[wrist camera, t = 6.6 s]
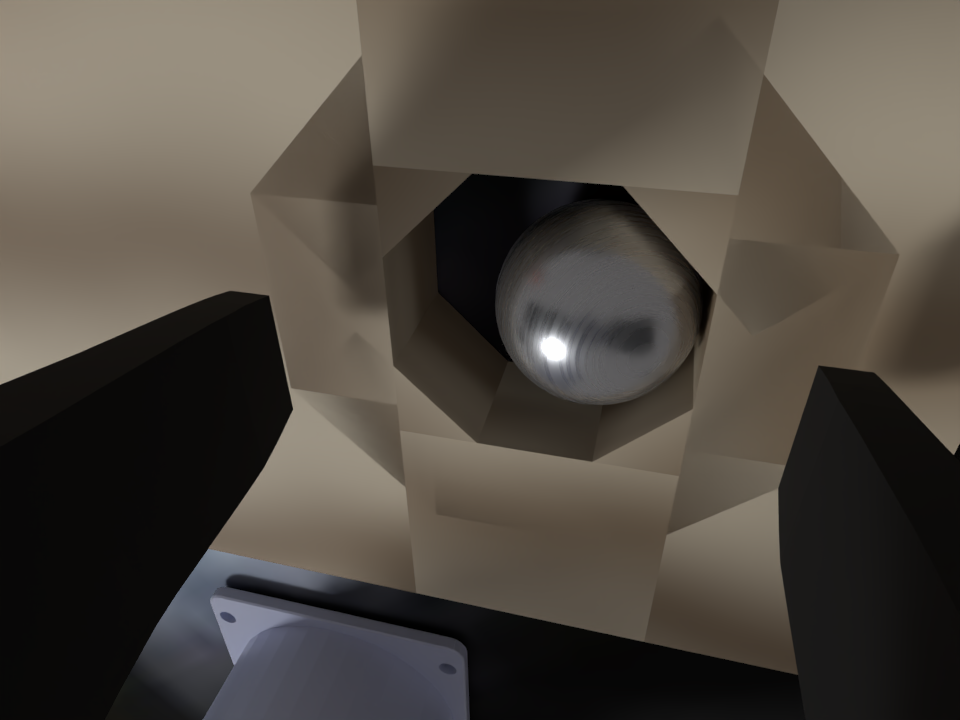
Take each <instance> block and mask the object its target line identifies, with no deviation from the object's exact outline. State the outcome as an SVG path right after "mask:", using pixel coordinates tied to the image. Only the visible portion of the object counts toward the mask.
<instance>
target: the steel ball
mask: <svg viewBox="0 0 960 720" xmlns="http://www.w3.org/2000/svg"><path fill="white" fill-rule="evenodd" d="M703 306H704V295H703V287H702V280H701V276H700V274H699V273H698V272H697V271H696V270H695V268H694V267H693V266H692V265H691V264H690V263H689V262H688V260H687V259H686V258H685V257H684V256H683V255H682V253H681V252H680V251H679V250H678V249H677V248H676V247H675V245H674V244H673V243H672V242H671V241H670V240H669V239H668V237H667V236H666V235H665V234H664V233H663V232H662V230H661V229H660V228H659V227H658V226H657V225H656V224H655V222H654V221H653V220H652V219H651V218H650V217H649V216H648V214H647V213H646V212H645V211H644V210H643V209H642V207H640V206H637V205H634V204H631V203H628V202H624V201H620V200H609V199H588V200H583V201H578V202H574V203H570V204H567V205H564V206H561V207H559V208H557V209H555V210H552V211H550V212H549V213H547V214H545V215H544V216H542V217H540V218H539V219H538V220H537V221H535V222H534V223H533V224H531V225H530V226H529V227H528V228H527V229H526V230H525V231H524V232H523V233H522V234H521V236H520V237H519V238H518V239H517V240H516V242H515V243H514V245H513V246H512V248H511V249H510V251H509V253H508V255H507V257H506V259H505V261H504V263H503V265H502V268H501V271H500V274H499V277H498V281H497V286H496V297H495V312H496V320H497V325H498V329H499V334H500V336H501V339H502V341H503V343H504V346H505V348H506V350H507V352H508V354H509V355H510V357H511V359H512V360H513V362H514V363H515V364H516V366H517V367H518V368H519V369H520V370H521V372H522V373H523V374H524V375H525V376H526V377H527V378H528V379H530V380H531V381H532V382H533V383H534V384H536V385H537V386H538V387H540V388H542V389H543V390H545V391H547V392H548V393H550V394H552V395H554V396H556V397H559V398H561V399H564V400H567V401H570V402H574V403H579V404H588V405H609V404H616V403H621V402H625V401H629V400H632V399H635V398H638V397H640V396H642V395H644V394H647V393H648V392H650V391H652V390H653V389H655V388H657V387H658V386H659V385H661V384H662V383H664V382H665V381H666V380H667V379H668V378H669V377H671V376H672V375H673V374H674V373H675V371H676V370H677V369H678V368H679V367H680V366H681V364H682V363H683V362H684V361H685V359H686V358H687V356H688V354H689V353H690V351H691V349H692V347H693V345H694V343H695V340H696V338H697V335H698V333H699V329H700V326H701V321H702V314H703Z"/></svg>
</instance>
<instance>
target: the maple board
mask: <svg viewBox="0 0 960 720" xmlns="http://www.w3.org/2000/svg"><path fill="white" fill-rule="evenodd" d="M471 174H484V175H496V176H508V177H520V178H533V179H545V180H557V181H569V182H581V183H594V184H606V185H618V186H623V187H624V188H625V189H626V190H627V191H628V192H629V194H630V195H631V196H632V197H633V198H634V199H635V201H636V202H637V203H638V204H639V205H640V206H641V207H642V209H643V210H644V211H645V212H646V213H647V214H648V216H649V217H650V218H651V219H652V220H653V221H654V222H655V224H656V225H657V226H658V227H659V228H660V229H661V230H662V232H663V233H664V234H665V235H666V236H667V237H668V239H669V240H670V241H671V242H672V243H673V244H674V245H675V247H676V248H677V249H678V250H679V251H680V252H681V253H682V255H683V256H684V257H685V258H686V259H687V260H688V262H689V263H690V264H691V265H692V266H693V267H694V268H695V270H696V271H697V272H698V273H699V274H700V275H701V277H702V278H703V281H702V287H703V295H704V306H703V314H702V321H701V326H700V329H699V333H698V335H697V338H696V340H695V343H694V345H693V347H692V349H691V351H690V353H689V354H688V356H687V358H686V359H685V361H684V362H683V363H682V364H681V366H680V367H679V368H678V369H677V370H676V371H675V373H674V374H673V375H672V376H671V377H669V378H668V379H667V380H666V381H665V382H664V383H662V384H661V385H659V386H658V387H657V388H655V389H653V390H652V391H650V392H648V393H647V394H644V395H642V396H640V397H638V398H635V399H632V400H629V401H625V402H621V403H616V404H609V405H588V404H579V403H574V402H570V401H567V400H564V399H561V398H559V397H556V396H554V395H552V394H550V393H548V392H547V391H545V390H543V389H542V388H540V387H538V386H537V385H536V384H534V383H533V382H532V381H531V380H530V379H528V378H527V377H526V376H525V375H524V374H523V373H522V372H521V370H520V369H519V368H518V367H517V366H516V364H515V363H514V362H509V361H507V360H506V359H505V358H504V357H503V356H502V355H501V354H500V353H499V352H498V351H497V350H496V349H495V348H494V347H493V346H492V345H491V344H490V343H489V342H488V341H487V340H486V339H485V338H484V337H483V336H482V335H481V334H480V333H479V332H478V331H477V330H476V329H475V328H474V327H473V326H472V325H471V324H470V323H469V322H468V321H467V320H466V319H465V318H464V317H463V316H462V315H461V314H459V313H458V312H457V311H456V310H455V309H454V308H453V307H452V306H451V305H450V304H449V303H448V302H447V301H446V300H445V299H444V298H443V297H442V296H441V295H440V294H439V293H438V285H437V266H436V247H435V228H434V209H435V208H436V207H437V206H438V205H439V204H440V203H441V202H442V201H443V200H444V199H445V198H446V197H447V196H448V195H450V194H451V193H452V192H453V191H454V190H455V189H456V188H457V187H458V186H459V185H460V184H461V183H462V182H463V181H464V180H466V179H467V178H468V177H469V176H470V175H471ZM227 291H238V292H246V293H253V294H261V295H269V297H270V302H271V307H272V312H273V316H274V321H275V326H276V330H277V335H278V340H279V345H280V349H281V354H282V359H283V364H284V368H285V373H286V378H287V382H288V387H289V392H290V397H291V401H292V406H293V411H292V413H291V415H290V417H289V419H288V421H287V424H286V426H285V428H284V430H283V432H282V434H281V436H280V438H279V440H278V442H277V444H276V446H275V448H274V450H273V452H272V454H271V456H270V458H269V459H268V461H267V463H266V465H265V467H264V469H263V470H262V472H261V473H260V475H259V476H258V478H257V479H256V481H255V482H254V484H253V485H252V487H251V488H250V489H249V491H248V492H247V494H246V495H245V497H244V498H243V500H242V501H241V503H240V504H239V505H238V507H237V508H236V510H235V511H234V513H233V514H232V516H231V517H230V518H229V520H228V521H227V523H226V524H225V526H224V527H223V528H222V530H221V531H220V533H219V534H218V536H217V537H216V538H215V540H214V541H213V543H212V544H211V545H210V547H209V548H208V549H212V550H217V551H222V552H226V553H231V554H236V555H240V556H245V557H250V558H254V559H259V560H264V561H268V562H273V563H278V564H282V565H287V566H292V567H297V568H301V569H306V570H311V571H315V572H320V573H325V574H329V575H334V576H339V577H343V578H348V579H353V580H357V581H362V582H367V583H371V584H376V585H381V586H385V587H390V588H395V589H399V590H404V591H409V592H413V593H418V594H423V595H427V596H432V597H437V598H442V599H446V600H451V601H456V602H460V603H465V604H470V605H474V606H479V607H484V608H488V609H493V610H498V611H502V612H507V613H512V614H516V615H521V616H526V617H530V618H535V619H540V620H544V621H549V622H554V623H558V624H563V625H568V626H572V627H577V628H582V629H586V630H591V631H596V632H601V633H605V634H610V635H615V636H619V637H624V638H629V639H633V640H638V641H643V642H647V643H652V644H657V645H661V646H666V647H671V648H675V649H680V650H685V651H689V652H694V653H699V654H703V655H708V656H713V657H717V658H722V659H727V660H731V661H736V662H741V663H746V664H750V665H755V666H760V667H764V668H769V669H774V670H778V671H783V672H788V673H792V674H797V675H798V672H797V665H796V659H795V653H794V647H793V641H792V635H791V629H790V623H789V617H788V610H787V604H786V598H785V592H784V585H783V579H782V572H781V565H780V549H779V514H778V487H779V484H780V481H781V478H782V475H783V472H784V469H785V466H786V463H787V460H788V457H789V454H790V451H791V448H792V445H793V441H794V438H795V435H796V432H797V429H798V426H799V423H800V420H801V417H802V414H803V411H804V408H805V405H806V402H807V399H808V396H809V393H810V390H811V387H812V384H813V380H814V377H815V374H816V371H817V368H818V365H820V366H828V367H836V368H844V369H851V370H859V371H867V372H874V373H875V374H877V375H878V376H879V377H880V378H881V379H882V380H883V381H884V382H885V383H886V384H887V385H888V386H889V387H890V388H891V389H892V390H893V391H894V392H895V394H896V395H897V396H898V397H899V398H900V399H901V400H902V401H903V402H904V403H905V404H906V405H907V406H908V407H909V408H910V409H911V410H912V412H913V413H914V414H915V415H916V416H917V417H918V418H919V419H920V420H921V421H922V422H923V423H924V424H925V425H926V426H927V428H928V429H929V430H930V431H931V432H932V433H933V434H934V435H935V436H936V437H937V438H938V439H939V440H940V441H941V442H942V443H943V444H944V446H945V447H946V448H947V449H948V450H949V451H950V452H951V453H952V454H953V455H954V454H955V452H956V450H957V448H958V446H959V444H960V0H0V385H1V384H3V383H6V382H8V381H11V380H13V379H16V378H18V377H20V376H23V375H25V374H28V373H30V372H33V371H35V370H38V369H40V368H43V367H45V366H48V365H50V364H53V363H55V362H58V361H60V360H63V359H65V358H68V357H70V356H72V355H75V354H77V353H80V352H82V351H84V350H87V349H89V348H91V347H94V346H96V345H98V344H100V343H103V342H105V341H107V340H110V339H112V338H114V337H116V336H119V335H121V334H123V333H126V332H128V331H130V330H132V329H135V328H137V327H139V326H142V325H144V324H146V323H149V322H151V321H153V320H155V319H158V318H160V317H162V316H165V315H167V314H169V313H172V312H174V311H176V310H179V309H181V308H184V307H186V306H188V305H191V304H193V303H196V302H199V301H201V300H204V299H206V298H209V297H212V296H215V295H218V294H221V293H224V292H227Z"/></svg>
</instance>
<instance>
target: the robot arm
mask: <svg viewBox="0 0 960 720" xmlns="http://www.w3.org/2000/svg"><path fill="white" fill-rule="evenodd" d="M292 411H293V406H292V401H291V397H290V392H289V387H288V382H287V378H286V373H285V368H284V364H283V359H282V354H281V349H280V345H279V340H278V335H277V330H276V326H275V321H274V316H273V312H272V307H271V302H270V297H269V295H261V294H253V293H246V292H238V291H227V292H224V293H221V294H218V295H215V296H212V297H209V298H206V299H204V300H201V301H199V302H196V303H193V304H191V305H188V306H186V307H184V308H181V309H179V310H176V311H174V312H172V313H169V314H167V315H165V316H162V317H160V318H158V319H155V320H153V321H151V322H149V323H146V324H144V325H142V326H139V327H137V328H135V329H132V330H130V331H128V332H126V333H123V334H121V335H119V336H116V337H114V338H112V339H110V340H107V341H105V342H103V343H100V344H98V345H96V346H94V347H91V348H89V349H87V350H84V351H82V352H80V353H77V354H75V355H72V356H70V357H68V358H65V359H63V360H60V361H58V362H55V363H53V364H50V365H48V366H45V367H43V368H40V369H38V370H35V371H33V372H30V373H28V374H25V375H23V376H20V377H18V378H16V379H13V380H11V381H8V382H6V383H3V384H1V385H0V720H105V718H106V716H107V714H108V712H109V710H110V708H111V706H112V705H113V703H114V701H115V699H116V697H117V695H118V693H119V691H120V689H121V688H122V686H123V684H124V682H125V680H126V679H127V677H128V675H129V673H130V671H131V670H132V668H133V666H134V664H135V662H136V661H137V659H138V657H139V655H140V654H141V652H142V650H143V648H144V646H145V645H146V643H147V641H148V639H149V637H150V636H151V634H152V632H153V630H154V628H155V627H156V625H157V623H158V622H159V620H160V619H161V617H162V616H163V614H164V613H165V611H166V609H167V608H168V606H169V605H170V603H171V602H172V600H173V599H174V597H175V595H176V594H177V593H178V591H179V590H180V588H181V587H182V585H183V584H184V583H185V581H186V580H187V578H188V577H189V575H190V574H191V573H192V571H193V570H194V568H195V567H196V565H197V564H198V563H199V561H200V560H201V558H202V557H203V555H204V554H205V553H206V551H207V550H208V548H209V547H210V545H211V544H212V543H213V541H214V540H215V538H216V537H217V536H218V534H219V533H220V531H221V530H222V528H223V527H224V526H225V524H226V523H227V521H228V520H229V518H230V517H231V516H232V514H233V513H234V511H235V510H236V508H237V507H238V505H239V504H240V503H241V501H242V500H243V498H244V497H245V495H246V494H247V492H248V491H249V489H250V488H251V487H252V485H253V484H254V482H255V481H256V479H257V478H258V476H259V475H260V473H261V472H262V470H263V469H264V467H265V465H266V463H267V461H268V459H269V458H270V456H271V454H272V452H273V450H274V448H275V446H276V444H277V442H278V440H279V438H280V436H281V434H282V432H283V430H284V428H285V426H286V424H287V421H288V419H289V417H290V415H291V413H292ZM778 514H779V549H780V565H781V572H782V579H783V585H784V592H785V598H786V604H787V610H788V617H789V623H790V629H791V635H792V641H793V647H794V653H795V659H796V665H797V672H798V678H799V684H800V690H801V696H802V702H803V708H804V714H805V720H960V461H959V460H958V459H957V458H956V457H955V456H954V455H953V454H952V453H951V452H950V451H949V450H948V449H947V448H946V447H945V446H944V444H943V443H942V442H941V441H940V440H939V439H938V438H937V437H936V436H935V435H934V434H933V433H932V432H931V431H930V430H929V429H928V428H927V426H926V425H925V424H924V423H923V422H922V421H921V420H920V419H919V418H918V417H917V416H916V415H915V414H914V413H913V412H912V410H911V409H910V408H909V407H908V406H907V405H906V404H905V403H904V402H903V401H902V400H901V399H900V398H899V397H898V396H897V395H896V394H895V392H894V391H893V390H892V389H891V388H890V387H889V386H888V385H887V384H886V383H885V382H884V381H883V380H882V379H881V378H880V377H879V376H878V375H877V374H875V373H874V372H867V371H859V370H851V369H844V368H836V367H828V366H820V365H818V368H817V371H816V374H815V377H814V380H813V384H812V387H811V390H810V393H809V396H808V399H807V402H806V405H805V408H804V411H803V414H802V417H801V420H800V423H799V426H798V429H797V432H796V435H795V438H794V441H793V445H792V448H791V451H790V454H789V457H788V460H787V463H786V466H785V469H784V472H783V475H782V478H781V481H780V484H779V487H778ZM210 602H211V605H212V608H213V611H214V613H215V616H216V619H217V621H218V624H219V627H220V629H221V632H222V635H223V637H224V640H225V643H226V645H227V648H228V651H229V653H230V656H231V659H232V661H233V664H234V667H233V669H232V671H231V672H230V674H229V676H228V678H227V679H226V681H225V683H224V684H223V686H222V688H221V690H220V691H219V693H218V695H217V697H216V698H215V700H214V702H213V703H212V705H211V707H210V709H209V710H208V712H207V714H206V716H205V717H204V719H203V720H470V711H469V684H468V657H467V650H466V647H465V646H464V645H463V644H462V643H461V642H460V641H458V640H457V639H454V638H451V637H447V636H443V635H438V634H434V633H429V632H425V631H420V630H416V629H412V628H407V627H403V626H398V625H394V624H389V623H385V622H381V621H376V620H372V619H367V618H363V617H358V616H354V615H349V614H345V613H341V612H336V611H332V610H327V609H323V608H318V607H314V606H309V605H305V604H301V603H296V602H292V601H287V600H283V599H278V598H274V597H269V596H265V595H261V594H256V593H252V592H247V591H243V590H238V589H234V588H229V587H220V588H217V590H216V591H215V592H214V594H213V595H212V597H211V599H210Z"/></svg>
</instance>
